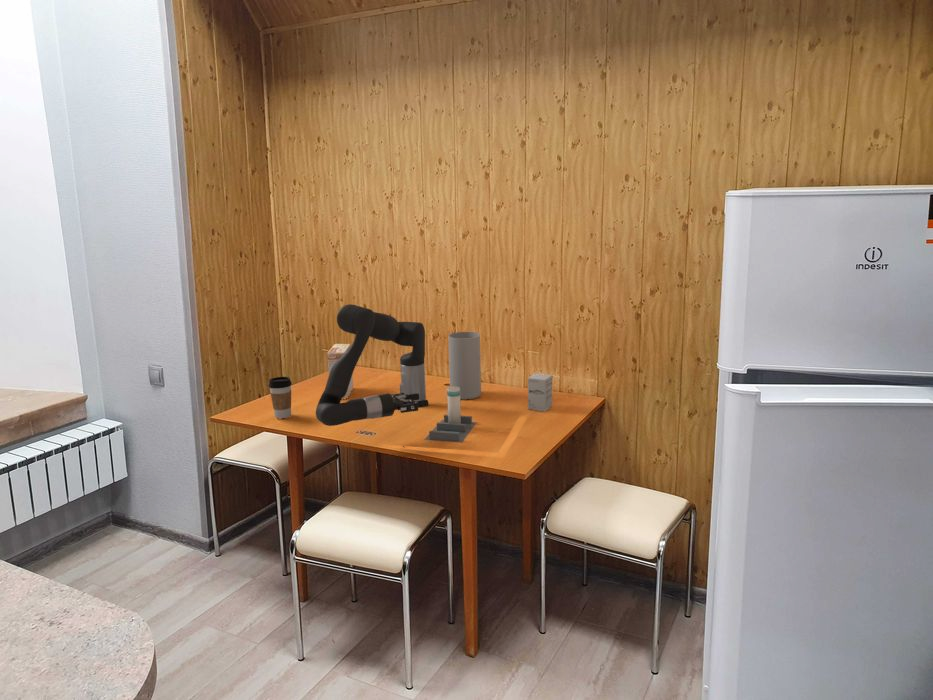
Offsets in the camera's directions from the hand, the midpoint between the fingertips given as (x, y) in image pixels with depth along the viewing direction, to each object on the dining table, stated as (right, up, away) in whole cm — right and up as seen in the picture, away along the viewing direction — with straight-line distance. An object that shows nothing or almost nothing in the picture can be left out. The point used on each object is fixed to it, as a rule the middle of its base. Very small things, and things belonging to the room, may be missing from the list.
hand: (423, 399), depth 246 cm
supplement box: (+43, -5, +29) cm, 52 cm away
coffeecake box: (-37, -1, +54) cm, 65 cm away
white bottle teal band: (+11, -10, +8) cm, 16 cm away
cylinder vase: (+14, -2, +47) cm, 49 cm away
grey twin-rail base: (+9, -12, +4) cm, 16 cm away
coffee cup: (-55, -9, +28) cm, 62 cm away
